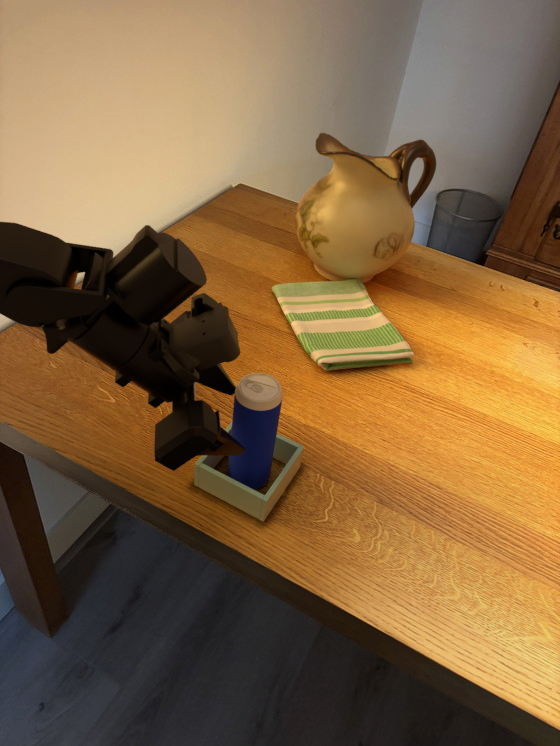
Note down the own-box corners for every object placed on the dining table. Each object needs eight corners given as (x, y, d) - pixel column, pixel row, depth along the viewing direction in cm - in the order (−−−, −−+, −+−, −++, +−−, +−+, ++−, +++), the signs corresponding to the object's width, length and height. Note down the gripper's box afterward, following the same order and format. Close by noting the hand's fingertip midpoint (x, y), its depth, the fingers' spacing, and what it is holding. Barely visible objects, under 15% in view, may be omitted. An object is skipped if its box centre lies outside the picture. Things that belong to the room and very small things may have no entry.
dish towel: (359, 286, 105) (362, 274, 103) (415, 364, 88) (420, 351, 87) (270, 292, 99) (272, 279, 98) (313, 376, 83) (315, 362, 81)
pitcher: (271, 276, 104) (287, 142, 87) (313, 230, 121) (333, 110, 104) (383, 313, 99) (423, 177, 82) (410, 259, 116) (448, 137, 100)
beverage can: (276, 469, 69) (291, 381, 59) (257, 499, 65) (271, 410, 55) (240, 453, 70) (249, 365, 60) (220, 481, 66) (226, 392, 56)
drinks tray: (263, 522, 63) (266, 501, 60) (194, 485, 65) (194, 463, 63) (300, 467, 69) (304, 446, 67) (235, 435, 72) (237, 414, 70)
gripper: (192, 360, 42) (311, 449, 51) (187, 242, 56) (281, 329, 65) (97, 433, 46) (223, 503, 55) (114, 306, 59) (213, 379, 68)
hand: (238, 420), depth 61 cm, fingers open, 9 cm apart
